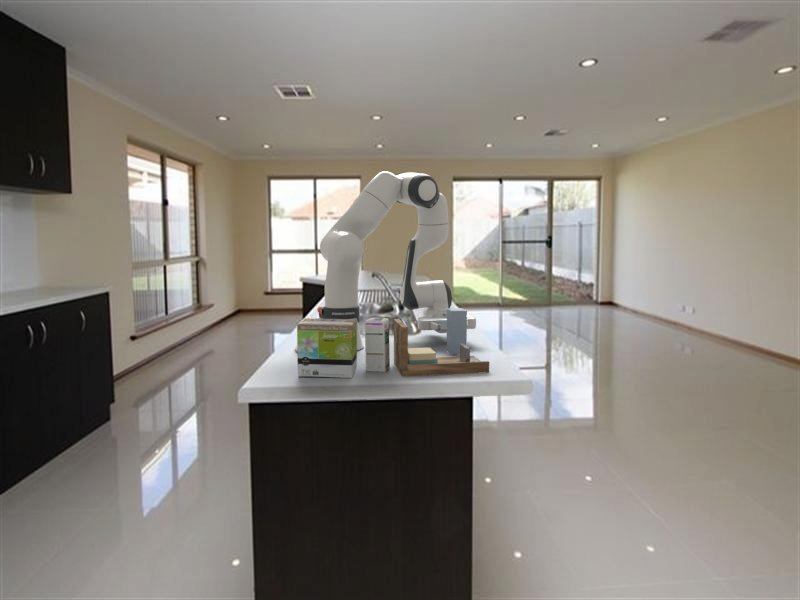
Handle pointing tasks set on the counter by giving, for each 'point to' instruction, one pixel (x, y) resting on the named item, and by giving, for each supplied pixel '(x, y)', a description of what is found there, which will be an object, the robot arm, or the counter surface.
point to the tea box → (327, 347)
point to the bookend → (466, 354)
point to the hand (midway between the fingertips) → (452, 327)
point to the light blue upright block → (456, 329)
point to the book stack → (421, 356)
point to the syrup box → (377, 344)
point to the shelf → (440, 368)
